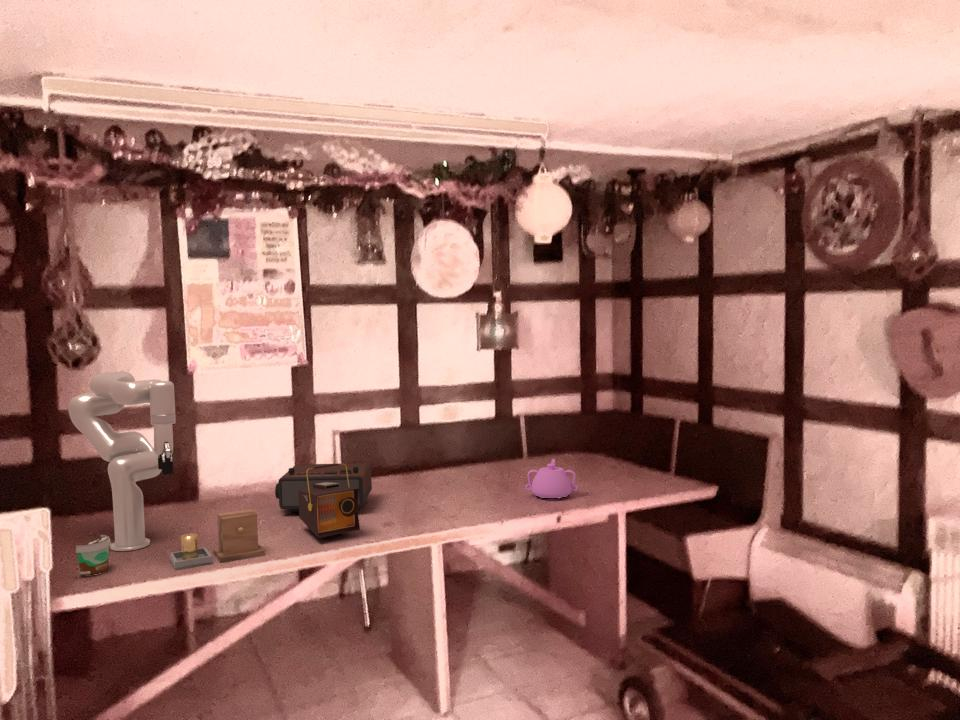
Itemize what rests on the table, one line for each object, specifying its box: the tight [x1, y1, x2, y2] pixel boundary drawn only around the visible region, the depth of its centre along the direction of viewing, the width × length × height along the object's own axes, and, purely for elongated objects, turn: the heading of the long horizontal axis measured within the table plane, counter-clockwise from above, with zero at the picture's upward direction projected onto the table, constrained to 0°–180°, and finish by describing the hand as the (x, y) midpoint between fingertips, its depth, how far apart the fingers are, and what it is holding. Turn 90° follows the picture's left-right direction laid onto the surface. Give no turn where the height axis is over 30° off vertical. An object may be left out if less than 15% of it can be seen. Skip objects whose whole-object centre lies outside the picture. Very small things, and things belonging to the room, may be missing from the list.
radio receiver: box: [274, 462, 373, 513], centre depth 314 cm, size 35×27×18 cm
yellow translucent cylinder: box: [180, 532, 199, 560], centre depth 248 cm, size 5×5×8 cm
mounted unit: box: [212, 508, 266, 564], centre depth 255 cm, size 12×14×14 cm
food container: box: [75, 534, 112, 577], centre depth 241 cm, size 12×6×10 cm, turn 170°
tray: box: [169, 547, 213, 571], centre depth 248 cm, size 11×11×2 cm
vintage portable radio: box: [298, 463, 361, 539], centre depth 276 cm, size 16×23×25 cm
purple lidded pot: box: [525, 458, 579, 498], centre depth 326 cm, size 22×22×14 cm
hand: (165, 471), depth 253 cm, fingers open, 9 cm apart
